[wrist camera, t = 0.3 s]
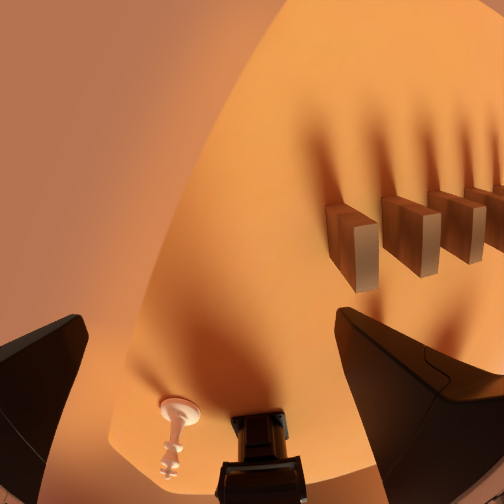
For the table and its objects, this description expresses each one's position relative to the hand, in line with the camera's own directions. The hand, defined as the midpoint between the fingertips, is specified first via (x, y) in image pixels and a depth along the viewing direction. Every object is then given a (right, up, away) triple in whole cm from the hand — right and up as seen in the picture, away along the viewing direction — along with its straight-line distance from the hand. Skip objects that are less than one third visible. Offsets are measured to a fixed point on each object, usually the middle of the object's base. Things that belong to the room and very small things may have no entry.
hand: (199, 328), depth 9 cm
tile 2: (+9, +4, +14) cm, 17 cm away
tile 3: (+13, +5, +13) cm, 20 cm away
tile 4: (+18, +6, +13) cm, 23 cm away
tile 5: (+23, +7, +13) cm, 28 cm away
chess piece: (-7, -17, +21) cm, 27 cm away
